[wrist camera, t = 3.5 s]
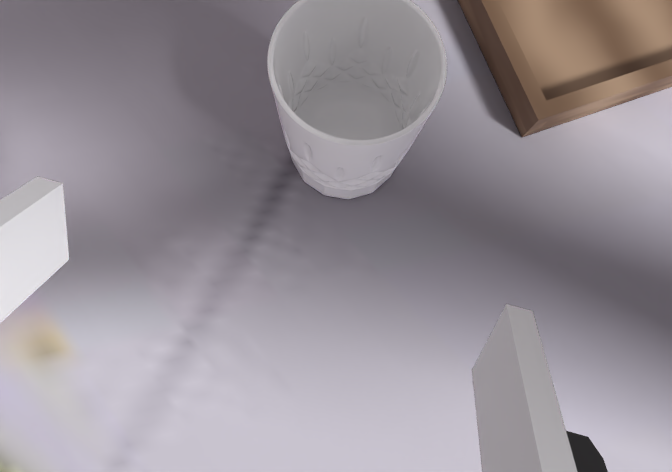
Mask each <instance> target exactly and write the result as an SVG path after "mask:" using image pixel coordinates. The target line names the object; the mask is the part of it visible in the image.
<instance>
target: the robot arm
mask: <svg viewBox="0 0 672 472" xmlns="http://www.w3.org/2000/svg"><path fill="white" fill-rule="evenodd" d="M68 260H69V251H68V239H67V227H66V215H65V203H64V191H63V183H60V182H56V181H53V180H49V179H45V178H42V177H38V176H37V177H36V178H34V179H32V180H31V181H29V182H28V183H26V184H24V185H23V186H21V187H20V188H18V189H17V190H15V191H13V192H12V193H10V194H9V195H7V196H5V197H4V198H2V199H1V200H0V323H1V322H2V321H3V320H4V319H5V318H6V317H7V316H9V315H10V314H11V313H12V312H13V311H14V310H15V309H16V308H17V307H18V306H19V305H20V304H22V303H23V302H24V301H25V300H26V299H27V298H28V297H29V296H30V295H31V294H32V293H34V292H35V291H36V290H37V289H38V288H39V287H40V286H41V285H42V284H43V283H44V282H45V281H47V280H48V279H49V278H50V277H51V276H52V275H53V274H54V273H55V272H56V271H57V270H58V269H60V268H61V267H62V266H63V265H64V264H65V263H66V262H67V261H68ZM472 377H473V387H474V397H475V407H476V416H477V426H478V436H479V446H480V455H481V465H482V472H607V469H606V466H605V463H604V460H603V458H602V456H601V455H600V453H599V452H598V450H597V449H596V448H595V446H594V445H593V443H592V442H591V440H590V439H589V437H586V436H583V435H579V434H575V433H572V432H568V431H566V429H565V425H564V422H563V418H562V415H561V411H560V407H559V404H558V400H557V397H556V393H555V389H554V386H553V382H552V379H551V375H550V371H549V368H548V364H547V361H546V357H545V353H544V350H543V346H542V343H541V339H540V335H539V332H538V328H537V325H536V321H535V317H534V314H533V311H531V310H527V309H524V308H520V307H516V306H513V305H509V304H506V306H505V308H504V309H503V311H502V313H501V315H500V317H499V319H498V321H497V323H496V325H495V327H494V328H493V330H492V332H491V334H490V336H489V338H488V340H487V342H486V344H485V346H484V348H483V349H482V351H481V353H480V355H479V357H478V359H477V361H476V363H475V365H474V367H473V368H472Z"/></svg>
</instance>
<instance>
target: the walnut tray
mask: <svg viewBox="0 0 672 472" xmlns="http://www.w3.org/2000/svg"><path fill="white" fill-rule="evenodd" d="M458 2H459V4H460V6H461V8H462V10H463V13H464V15H465V17H466V19H467V21H468V23H469V25H470V28H471V30H472V32H473V34H474V36H475V38H476V40H477V43H478V45H479V47H480V49H481V51H482V53H483V55H484V58H485V60H486V62H487V64H488V66H489V68H490V70H491V73H492V75H493V77H494V79H495V81H496V83H497V85H498V88H499V90H500V92H501V94H502V96H503V98H504V100H505V103H506V105H507V107H508V109H509V111H510V113H511V115H512V118H513V120H514V122H515V124H516V126H517V128H518V130H519V133H520V135H521V137H525V136H527V135H530V134H533V133H536V132H539V131H542V130H545V129H548V128H551V127H554V126H557V125H560V124H563V123H566V122H569V121H572V120H575V119H578V118H581V117H584V116H587V115H590V114H593V113H596V112H598V111H601V110H604V109H607V108H610V107H613V106H616V105H619V104H622V103H625V102H628V101H631V100H634V99H637V98H640V97H643V96H646V95H649V94H652V93H655V92H658V91H661V90H664V89H667V88H669V87H672V0H458Z"/></svg>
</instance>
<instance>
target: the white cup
mask: <svg viewBox="0 0 672 472" xmlns="http://www.w3.org/2000/svg"><path fill="white" fill-rule="evenodd" d="M267 68H268V75H269V80H270V84H271V88H272V91H273V95H274V99H275V103H276V107H277V111H278V115H279V120H280V123H281V127H282V130H283V133H284V137H285V141H286V143H287V146H288V149H289V151H290V154H291V158H292V161H293V163H294V165H295V167H296V168H297V170H298V172H299V174H300V175H301V177H302V179H303V181H304V182H305V183H307V184H308V185H310V186H311V187H313V188H314V189H316V190H317V191H319V192H320V193H322V194H323V195H325V196H331V197H337V198H343V199H352V198H356V197H359V196H363V195H366V194H370V193H373V192H374V191H375V190H376V189H377V188H378V187H379V186H381V185H382V184H383V183H384V182H385V181H386V180H387V179H389V178H390V176H391V175H392V173H393V171H394V169H395V168H396V167H397V166H398V165H399V163H400V162H401V161H402V160H403V158H404V156H405V155H406V153H407V152H408V150H409V149H410V148H411V146H412V144H413V143H414V141H415V140H416V138H417V136H418V135H419V133H420V131H421V130H422V128H423V126H424V125H425V123H426V121H427V120H428V118H429V116H430V115H431V113H432V111H433V110H434V108H435V107H436V105H437V103H438V101H439V99H440V97H441V95H442V92H443V89H444V86H445V82H446V75H447V59H446V52H445V48H444V45H443V42H442V39H441V37H440V34H439V32H438V30H437V29H436V27H435V25H434V24H433V22H432V21H431V20H430V18H429V17H428V16H427V15H426V14H425V13H424V12H423V11H422V10H421V9H420V8H419V7H418V6H417V5H416V4H415V3H413V2H412V1H410V0H299V1H298V2H296V3H295V4H294V5H293V6H292V7H291V8H290V9H289V10H288V11H287V12H286V13H285V14H284V15H283V17H282V18H281V19H280V21H279V23H278V24H277V26H276V28H275V30H274V32H273V34H272V37H271V40H270V44H269V48H268V56H267Z"/></svg>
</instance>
